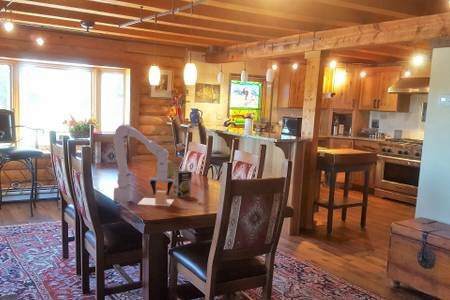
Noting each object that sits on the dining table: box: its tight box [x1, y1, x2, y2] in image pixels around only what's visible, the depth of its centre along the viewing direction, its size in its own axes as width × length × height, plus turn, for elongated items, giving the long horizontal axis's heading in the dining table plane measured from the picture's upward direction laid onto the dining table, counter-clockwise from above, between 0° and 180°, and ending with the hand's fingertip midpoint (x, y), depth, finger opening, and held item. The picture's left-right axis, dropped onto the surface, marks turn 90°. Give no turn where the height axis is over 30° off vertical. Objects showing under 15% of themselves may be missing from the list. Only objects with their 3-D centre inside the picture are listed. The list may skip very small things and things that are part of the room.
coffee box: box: [172, 170, 192, 198], centre depth 263 cm, size 9×6×16 cm
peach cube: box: [154, 189, 168, 204], centre depth 241 cm, size 6×6×6 cm
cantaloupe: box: [155, 159, 176, 179], centre depth 328 cm, size 15×15×15 cm
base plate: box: [137, 197, 175, 207], centre depth 243 cm, size 18×17×1 cm
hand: (161, 194), depth 241 cm, fingers open, 7 cm apart
